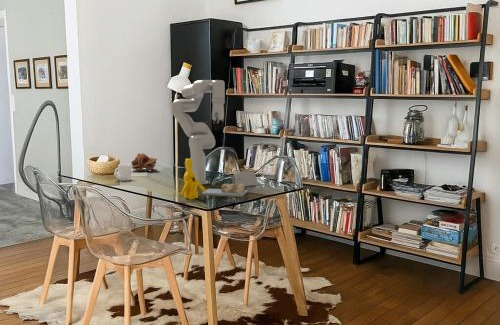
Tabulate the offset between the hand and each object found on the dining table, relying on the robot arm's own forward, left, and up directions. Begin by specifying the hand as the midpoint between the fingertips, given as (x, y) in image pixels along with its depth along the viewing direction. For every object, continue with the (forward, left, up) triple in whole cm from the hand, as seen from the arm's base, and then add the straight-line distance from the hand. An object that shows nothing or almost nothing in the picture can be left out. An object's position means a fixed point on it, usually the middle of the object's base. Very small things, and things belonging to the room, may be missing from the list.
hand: (218, 129), depth 315 cm
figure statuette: (-7, -32, -37) cm, 49 cm away
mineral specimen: (-76, +59, -37) cm, 103 cm away
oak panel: (+13, -15, -35) cm, 40 cm away
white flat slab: (+8, -15, -36) cm, 40 cm away
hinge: (+13, +15, -37) cm, 42 cm away
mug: (-72, +15, -37) cm, 82 cm away
